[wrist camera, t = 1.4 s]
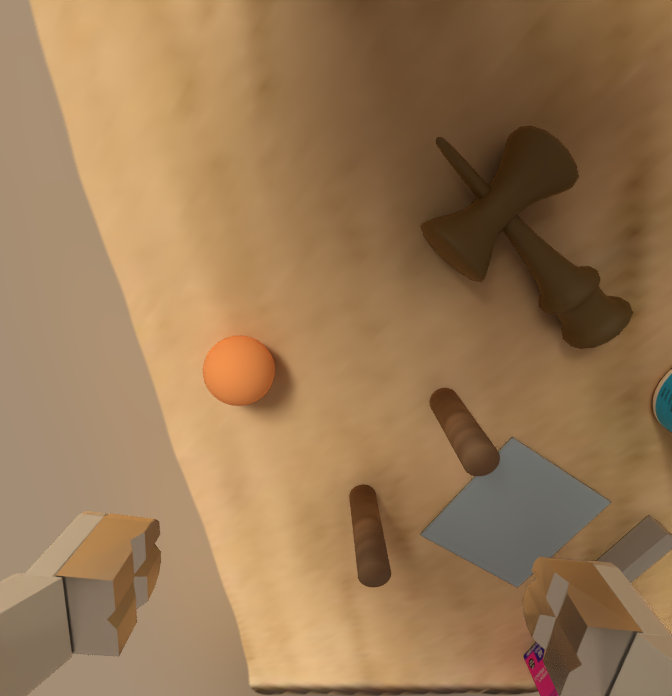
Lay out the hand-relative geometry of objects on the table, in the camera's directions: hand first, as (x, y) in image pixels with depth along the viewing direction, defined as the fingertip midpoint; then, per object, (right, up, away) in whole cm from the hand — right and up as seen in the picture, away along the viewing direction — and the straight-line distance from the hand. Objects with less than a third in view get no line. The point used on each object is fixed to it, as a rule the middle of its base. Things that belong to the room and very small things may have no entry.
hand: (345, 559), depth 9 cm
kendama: (+14, +13, +24) cm, 30 cm away
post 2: (+10, 0, +28) cm, 29 cm away
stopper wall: (+29, -20, +36) cm, 50 cm away
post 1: (+2, -10, +31) cm, 33 cm away
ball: (-8, +3, +23) cm, 24 cm away
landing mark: (+18, -13, +33) cm, 40 cm away
